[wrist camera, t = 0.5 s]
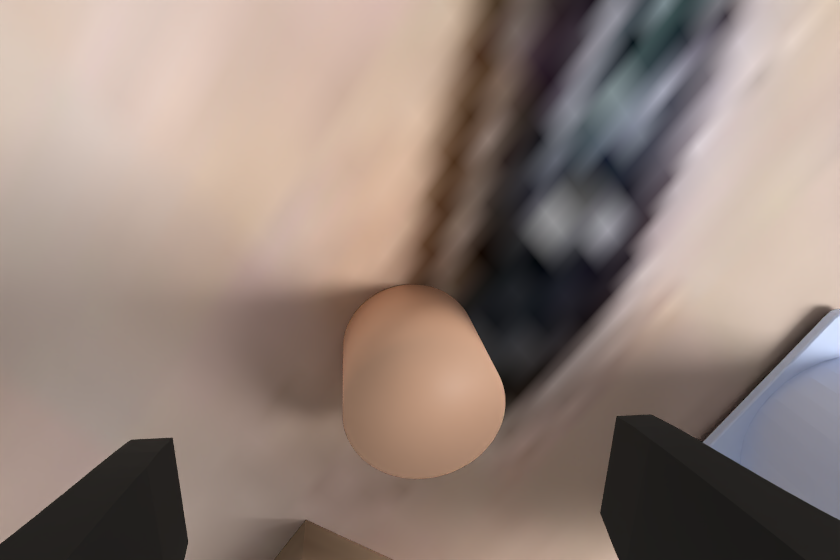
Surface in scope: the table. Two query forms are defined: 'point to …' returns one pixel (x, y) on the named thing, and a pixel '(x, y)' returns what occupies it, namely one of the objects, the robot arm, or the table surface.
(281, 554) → the walnut slab
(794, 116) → the table surface
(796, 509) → the robot arm
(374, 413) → the terracotta capsule
